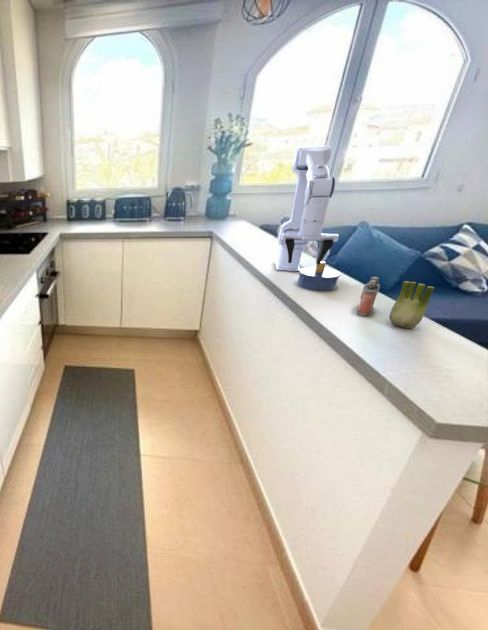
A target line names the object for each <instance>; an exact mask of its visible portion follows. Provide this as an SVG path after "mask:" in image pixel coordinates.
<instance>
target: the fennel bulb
mask: <svg viewBox="0 0 488 630" xmlns="http://www.w3.org/2000/svg"><path fill="white" fill-rule="evenodd" d="M401 285H402V286H401V289H400V292H399V295H398V298H397V299H396V301H395V302H394V304H393V306H392V308H391V310H390V312H389V314H388V315H389V316H388V317H389V321H390V322H391V324H393V325H395V326H396V327H399V328H402V329H414V328H415V327H417V326H418V325H419V324H420V323H421V321H422V320H423V318H424V316H425V314H426V312H427V308H428V304H429V302H430V299H431V296H432V294H433V292H434V290H435V286H426V284H424V283H418V284H417V282H416V281H407V280H404V281H403V282H402V284H401ZM416 285H417V286H416Z"/></svg>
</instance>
